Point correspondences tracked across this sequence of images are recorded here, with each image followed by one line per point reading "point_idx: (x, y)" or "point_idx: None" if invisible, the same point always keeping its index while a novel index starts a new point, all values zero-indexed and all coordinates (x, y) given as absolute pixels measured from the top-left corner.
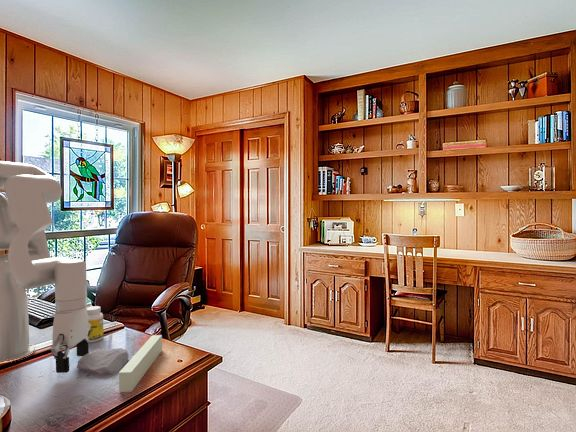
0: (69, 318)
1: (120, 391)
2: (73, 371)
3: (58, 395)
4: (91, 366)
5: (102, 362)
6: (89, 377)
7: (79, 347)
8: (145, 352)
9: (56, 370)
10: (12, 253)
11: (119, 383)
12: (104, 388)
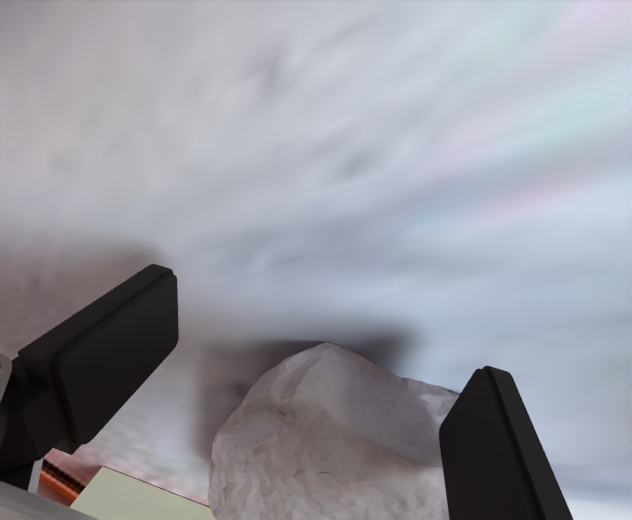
0: None
1: (101, 470)
2: (305, 314)
3: (43, 292)
4: (239, 441)
5: (240, 500)
6: (212, 393)
7: (494, 484)
8: None
9: (145, 272)
10: None
11: (73, 503)
12: (120, 435)
